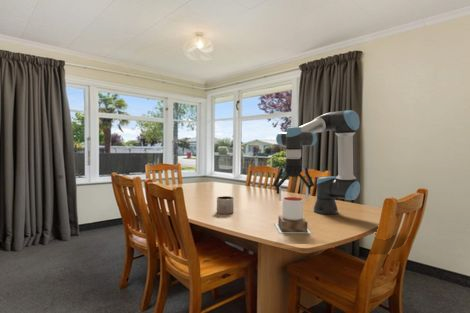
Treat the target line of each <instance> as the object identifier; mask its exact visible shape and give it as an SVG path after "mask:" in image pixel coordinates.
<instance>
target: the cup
mask: <svg viewBox="0 0 470 313" xmlns="http://www.w3.org/2000/svg"><path fill="white" fill-rule="evenodd" d="M282 216H283V218H284V219H286V220H292V221H297V220H301V219H302V218H304V199H303V198H301V197H296V196H295V197H294V196H286V197H283V198H282Z"/></svg>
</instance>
